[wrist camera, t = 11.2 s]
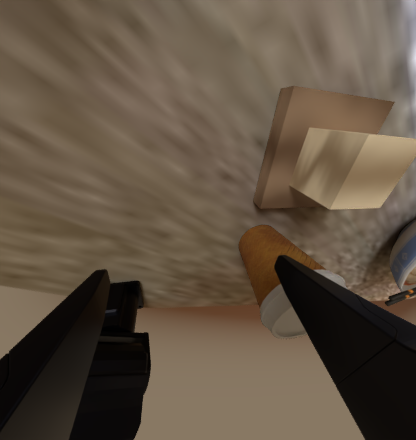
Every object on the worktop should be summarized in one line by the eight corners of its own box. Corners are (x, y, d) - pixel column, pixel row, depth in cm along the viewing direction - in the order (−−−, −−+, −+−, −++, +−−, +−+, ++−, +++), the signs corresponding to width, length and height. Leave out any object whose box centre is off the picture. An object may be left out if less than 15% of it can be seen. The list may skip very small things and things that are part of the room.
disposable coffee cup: (216, 249, 26) (248, 334, 16) (262, 203, 23) (335, 272, 13) (253, 269, 31) (296, 345, 21) (295, 233, 28) (368, 301, 18)
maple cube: (330, 185, 21) (379, 207, 16) (289, 185, 20) (329, 209, 15) (356, 132, 18) (427, 140, 13) (309, 127, 17) (368, 134, 12)
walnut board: (326, 200, 25) (337, 206, 24) (253, 201, 23) (260, 208, 21) (374, 102, 19) (394, 102, 17) (281, 88, 16) (294, 86, 15)
